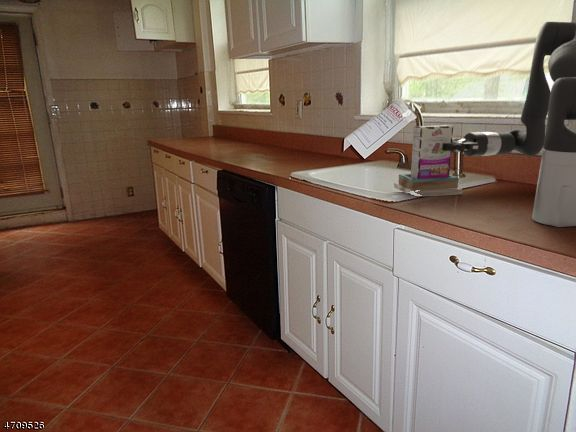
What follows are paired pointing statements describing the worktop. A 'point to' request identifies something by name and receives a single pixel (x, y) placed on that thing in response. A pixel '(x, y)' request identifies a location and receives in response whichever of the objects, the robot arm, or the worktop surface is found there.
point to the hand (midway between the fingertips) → (435, 145)
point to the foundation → (429, 185)
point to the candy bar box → (431, 151)
